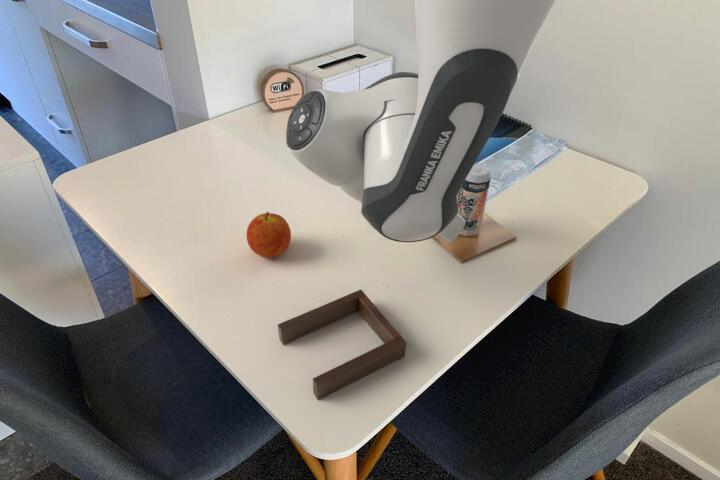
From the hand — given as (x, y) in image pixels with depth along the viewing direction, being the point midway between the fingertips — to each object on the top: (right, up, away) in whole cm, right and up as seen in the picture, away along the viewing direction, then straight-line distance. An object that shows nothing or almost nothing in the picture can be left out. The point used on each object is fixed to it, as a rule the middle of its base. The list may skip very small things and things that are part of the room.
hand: (427, 210), depth 80 cm
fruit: (-25, -7, +6) cm, 26 cm away
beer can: (+8, -3, +10) cm, 13 cm away
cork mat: (+8, -3, +10) cm, 13 cm away
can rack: (-13, -19, -10) cm, 25 cm away
